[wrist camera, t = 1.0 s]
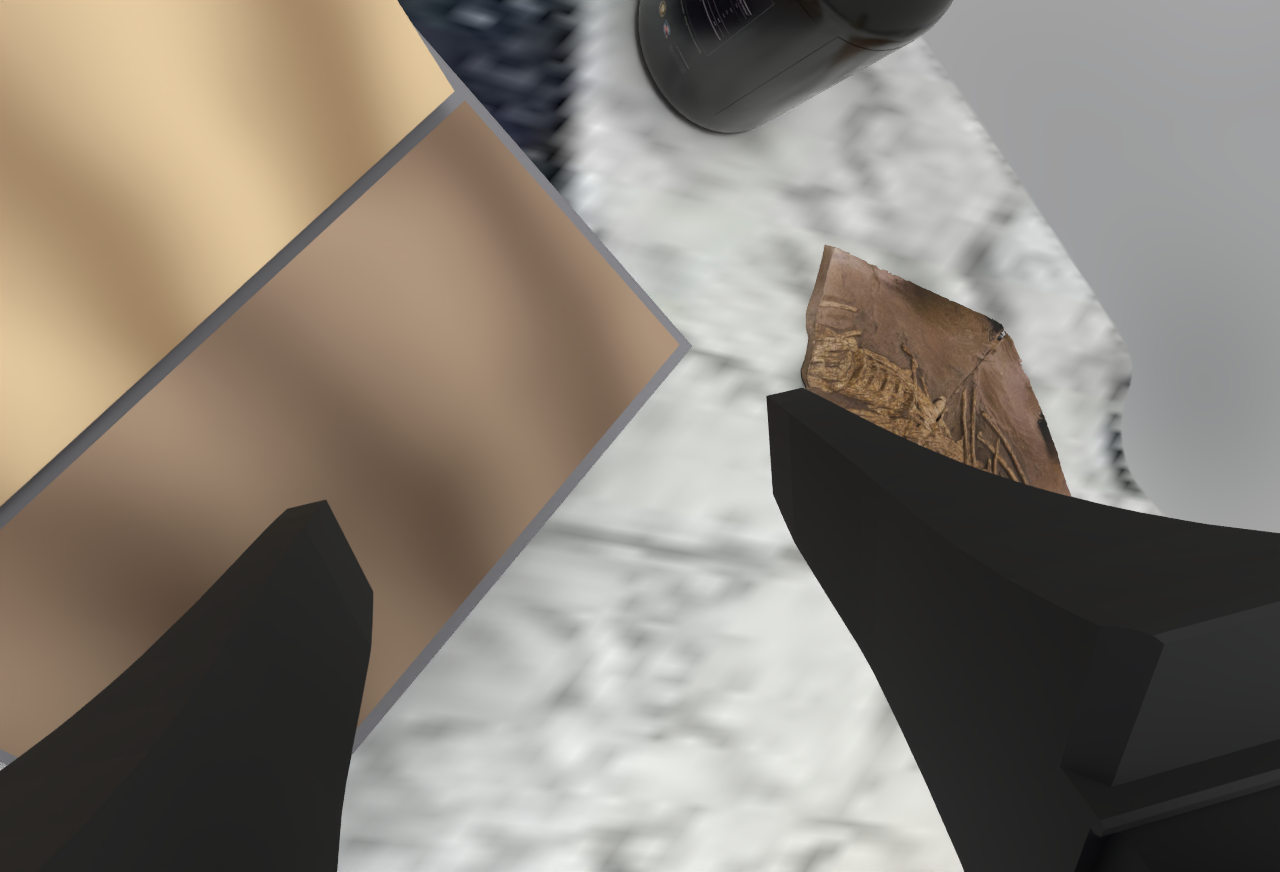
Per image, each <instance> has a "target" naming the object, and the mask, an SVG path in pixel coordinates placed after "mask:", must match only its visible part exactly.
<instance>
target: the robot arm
mask: <svg viewBox="0 0 1280 872" xmlns="http://www.w3.org/2000/svg"><path fill="white" fill-rule="evenodd" d="M767 411H768V426H769V441H770V456H771V471H772V486H773V495H774V497H775V500H776V502H777V504H778V507H779V509H780V511H781V514H782V516H783V518H784V521H785V523H786V525H787V527H788V529H789V531H790V534H791V536H792V538H793V540H794V542H795V544H796V546H797V547H798V549H799V551H800V552H801V554H802V556H803V557H804V559H805V560H806V562H807V564H808V565H809V567H810V569H811V570H812V572H813V574H814V575H815V577H816V578H817V580H818V582H819V583H820V585H821V586H822V588H823V590H824V591H825V593H826V594H827V596H828V598H829V599H830V601H831V602H832V604H833V606H834V607H835V609H836V610H837V612H838V614H839V615H840V617H841V618H842V620H843V622H844V623H845V625H846V626H847V628H848V630H849V631H850V633H851V634H852V636H853V638H854V639H855V641H856V642H857V644H858V646H859V647H860V649H861V651H862V653H863V654H864V656H865V658H866V660H867V661H868V663H869V665H870V667H871V669H872V670H873V672H874V674H875V676H876V678H877V681H878V683H879V685H880V687H881V689H882V691H883V693H884V695H885V697H886V699H887V701H888V703H889V705H890V707H891V709H892V711H893V713H894V715H895V718H896V720H897V722H898V724H899V726H900V728H901V730H902V732H903V734H904V737H905V739H906V741H907V743H908V745H909V747H910V750H911V752H912V754H913V756H914V758H915V760H916V763H917V765H918V767H919V769H920V771H921V773H922V775H923V778H924V780H925V782H926V784H927V786H928V789H929V791H930V793H931V796H932V798H933V800H934V802H935V805H936V807H937V809H938V811H939V814H940V816H941V818H942V821H943V823H944V825H945V827H946V830H947V832H948V834H949V837H950V839H951V841H952V843H953V846H954V848H955V850H956V853H957V855H958V857H959V860H960V862H961V864H962V867H963V869H964V872H1280V533H1272V532H1265V531H1257V530H1248V529H1240V528H1232V527H1224V526H1216V525H1209V524H1202V523H1195V522H1190V521H1184V520H1179V519H1173V518H1168V517H1162V516H1157V515H1151V514H1146V513H1140V512H1135V511H1131V510H1126V509H1121V508H1116V507H1112V506H1107V505H1102V504H1098V503H1094V502H1090V501H1086V500H1082V499H1078V498H1074V497H1070V496H1066V495H1062V494H1058V493H1054V492H1051V491H1047V490H1044V489H1040V488H1037V487H1033V486H1030V485H1026V484H1023V483H1020V482H1017V481H1014V480H1011V479H1008V478H1005V477H1002V476H999V475H996V474H993V473H990V472H987V471H984V470H981V469H978V468H975V467H973V466H970V465H967V464H964V463H962V462H959V461H957V460H954V459H952V458H949V457H947V456H945V455H942V454H940V453H937V452H935V451H933V450H930V449H928V448H925V447H923V446H921V445H918V444H916V443H914V442H912V441H910V440H907V439H905V438H903V437H901V436H899V435H897V434H894V433H892V432H890V431H888V430H886V429H884V428H882V427H880V426H878V425H876V424H874V423H872V422H870V421H868V420H866V419H864V418H862V417H860V416H858V415H856V414H854V413H852V412H850V411H848V410H846V409H844V408H842V407H840V406H838V405H837V404H835V403H833V402H831V401H829V400H827V399H825V398H823V397H821V396H819V395H817V394H815V393H813V392H811V391H808V390H806V389H804V388H799V389H795V390H791V391H786V392H782V393H778V394H773V395H769V396H767ZM372 627H373V590H372V588H371V586H370V584H369V582H368V580H367V578H366V576H365V574H364V572H363V570H362V568H361V567H360V565H359V563H358V561H357V559H356V557H355V555H354V553H353V551H352V549H351V547H350V545H349V543H348V541H347V539H346V537H345V535H344V533H343V531H342V529H341V527H340V525H339V523H338V521H337V520H336V518H335V516H334V514H333V512H332V510H331V508H330V506H329V504H328V502H327V500H322V501H318V502H313V503H309V504H305V505H301V506H296V507H292V508H288V509H286V510H285V511H284V512H283V513H282V514H281V515H280V516H279V517H277V518H276V519H275V520H274V521H273V522H272V523H271V524H270V525H269V526H268V527H267V528H266V529H265V530H264V531H263V532H262V533H261V535H260V536H259V537H258V538H257V539H256V540H255V541H254V542H253V543H252V544H251V545H250V546H249V547H248V548H247V549H246V550H245V551H244V552H243V553H242V555H241V556H240V557H239V558H238V559H237V560H236V561H235V562H234V563H233V564H232V565H231V566H230V567H229V568H228V569H227V570H226V571H225V573H224V574H223V575H222V576H221V577H220V578H219V579H218V580H217V581H216V582H215V583H214V584H213V585H212V586H211V587H210V588H209V589H208V590H207V591H206V593H205V594H204V595H203V596H202V597H201V598H200V599H199V600H198V601H197V602H196V603H195V604H194V605H193V606H192V607H191V608H190V609H189V610H188V611H187V612H186V613H185V614H184V615H183V616H182V617H181V618H180V619H179V620H178V621H177V622H176V623H174V624H173V625H172V626H171V627H170V628H169V629H168V630H167V631H166V632H165V633H164V634H163V635H162V636H161V637H160V638H159V639H158V640H157V641H156V642H155V643H154V644H153V645H152V646H151V647H150V648H149V649H148V650H147V651H146V652H145V653H144V654H143V655H142V656H141V657H140V658H138V659H137V660H136V661H135V662H134V663H133V664H132V665H131V666H130V667H129V668H128V669H126V670H125V671H124V672H123V673H122V674H121V675H120V676H119V677H117V678H116V679H115V680H114V681H113V682H112V683H111V684H109V685H108V686H107V687H106V688H105V689H104V690H102V691H101V692H100V693H99V694H98V695H97V696H95V697H94V698H93V699H92V700H91V701H89V702H88V703H87V704H86V705H85V706H83V707H82V708H81V709H80V710H79V711H77V712H76V713H75V714H74V715H73V716H72V717H70V718H69V719H68V720H67V721H65V722H64V723H63V724H62V725H60V726H59V727H58V728H57V729H55V730H54V731H53V732H51V733H50V734H49V735H47V736H46V737H45V738H43V739H42V740H41V741H39V742H38V743H37V744H35V745H34V746H33V747H31V748H30V749H29V750H27V751H26V752H25V753H24V754H22V755H21V756H20V757H18V758H17V759H16V760H14V761H13V762H12V763H10V764H9V765H8V766H6V767H5V768H4V769H2V770H1V771H0V872H337V864H338V852H339V840H340V828H341V815H342V807H343V801H344V794H345V787H346V780H347V775H348V770H349V765H350V760H351V755H352V749H353V744H354V739H355V734H356V729H357V723H358V718H359V713H360V708H361V703H362V698H363V692H364V687H365V681H366V676H367V670H368V665H369V659H370V653H371V645H372Z"/></svg>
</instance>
